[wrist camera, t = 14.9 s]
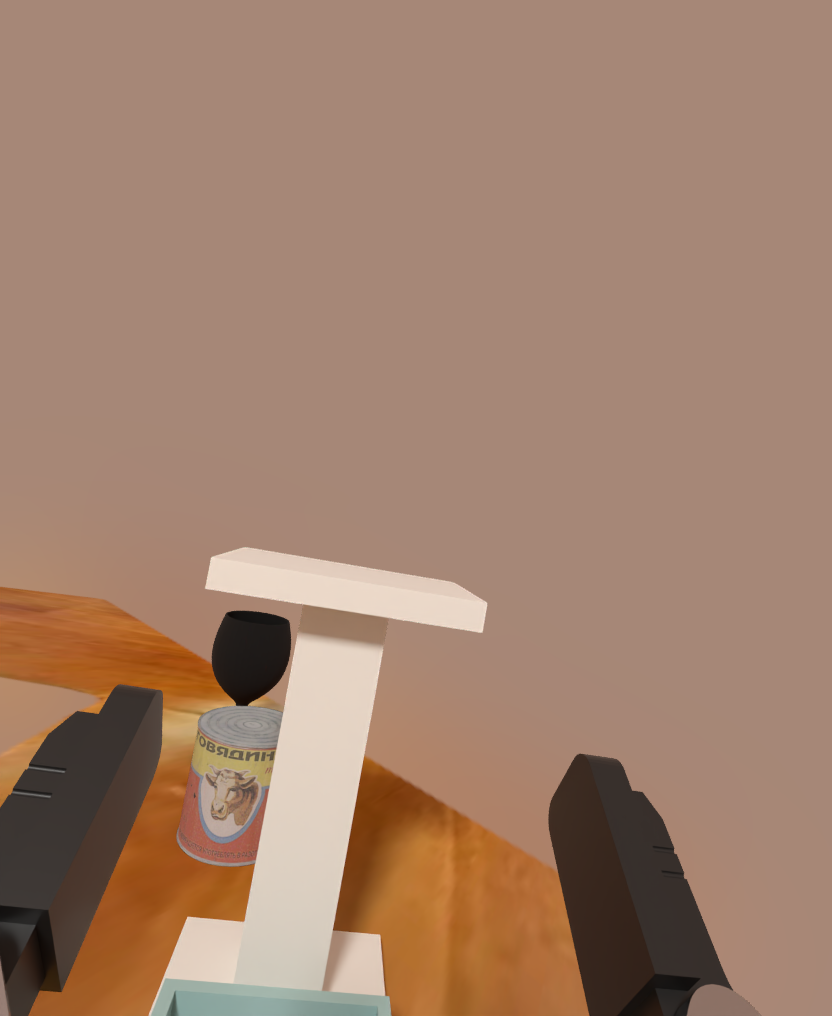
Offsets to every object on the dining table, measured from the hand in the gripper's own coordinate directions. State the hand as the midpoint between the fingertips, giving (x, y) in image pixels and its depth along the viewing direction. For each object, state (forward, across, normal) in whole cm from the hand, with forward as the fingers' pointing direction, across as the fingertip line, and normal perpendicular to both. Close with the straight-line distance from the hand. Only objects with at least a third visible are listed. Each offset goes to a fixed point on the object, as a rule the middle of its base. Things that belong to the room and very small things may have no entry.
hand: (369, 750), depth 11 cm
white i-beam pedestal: (+11, 0, +44) cm, 45 cm away
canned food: (+29, +6, +55) cm, 63 cm away
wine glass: (+45, +10, +64) cm, 79 cm away
